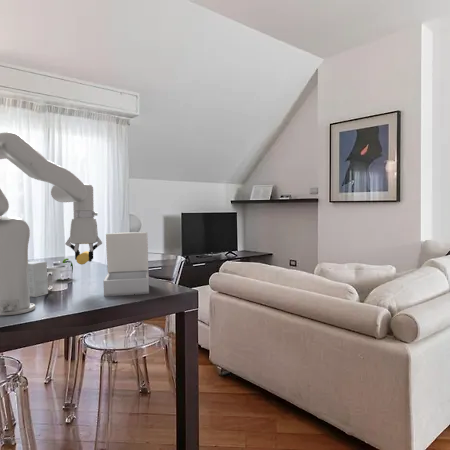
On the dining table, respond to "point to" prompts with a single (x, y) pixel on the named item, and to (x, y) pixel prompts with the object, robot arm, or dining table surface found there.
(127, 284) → the white square tray
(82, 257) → the yellow rounded cylinder
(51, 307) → the dining table surface
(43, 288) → the small box
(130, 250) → the lid
